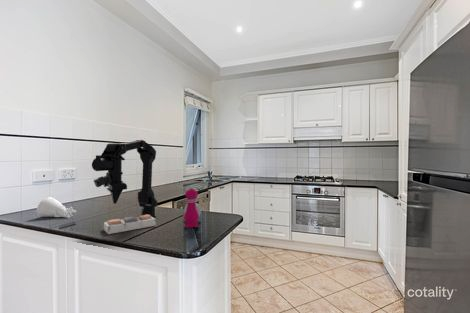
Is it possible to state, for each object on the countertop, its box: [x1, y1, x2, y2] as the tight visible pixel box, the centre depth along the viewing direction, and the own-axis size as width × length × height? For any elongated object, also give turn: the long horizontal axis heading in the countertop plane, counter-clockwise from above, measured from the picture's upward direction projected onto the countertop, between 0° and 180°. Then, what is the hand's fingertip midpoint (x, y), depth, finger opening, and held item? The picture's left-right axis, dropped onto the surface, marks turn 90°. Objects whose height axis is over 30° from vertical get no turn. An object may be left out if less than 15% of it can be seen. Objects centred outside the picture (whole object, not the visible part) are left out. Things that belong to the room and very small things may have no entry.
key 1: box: [107, 218, 122, 226], centre depth 112 cm, size 5×5×2 cm
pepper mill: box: [183, 185, 200, 229], centre depth 118 cm, size 7×7×20 cm
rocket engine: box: [36, 196, 77, 219], centre depth 138 cm, size 12×12×18 cm
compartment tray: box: [103, 216, 157, 235], centre depth 116 cm, size 21×9×3 cm, turn 129°
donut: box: [183, 202, 202, 217], centre depth 130 cm, size 10×4×10 cm, turn 68°
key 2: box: [138, 214, 151, 221], centre depth 121 cm, size 5×5×2 cm
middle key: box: [123, 216, 137, 223], centre depth 116 cm, size 5×5×2 cm
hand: (114, 203), depth 112 cm, fingers closed
